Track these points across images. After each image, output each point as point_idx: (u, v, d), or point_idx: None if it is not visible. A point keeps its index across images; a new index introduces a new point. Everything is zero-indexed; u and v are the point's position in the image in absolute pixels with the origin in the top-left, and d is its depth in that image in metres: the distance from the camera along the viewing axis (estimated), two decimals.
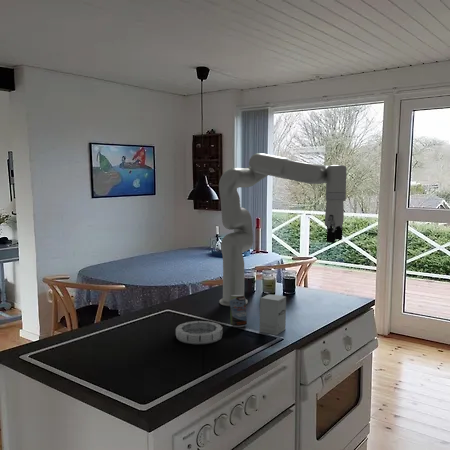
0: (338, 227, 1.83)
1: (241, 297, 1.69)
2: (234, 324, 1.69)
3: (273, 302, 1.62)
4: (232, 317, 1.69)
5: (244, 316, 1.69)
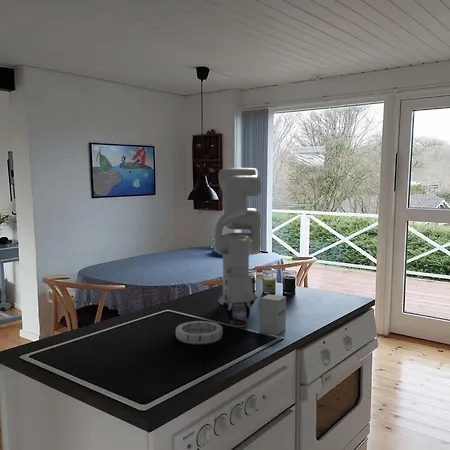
0: None
1: None
2: (234, 324, 1.69)
3: (273, 302, 1.62)
4: (232, 317, 1.69)
5: (244, 316, 1.69)
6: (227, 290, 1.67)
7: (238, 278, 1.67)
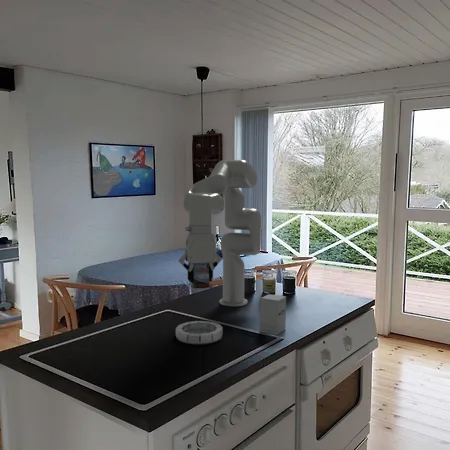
0: None
1: None
2: (195, 287, 1.56)
3: (273, 302, 1.62)
4: (193, 279, 1.57)
5: (206, 278, 1.57)
6: (187, 250, 1.55)
7: (199, 237, 1.55)
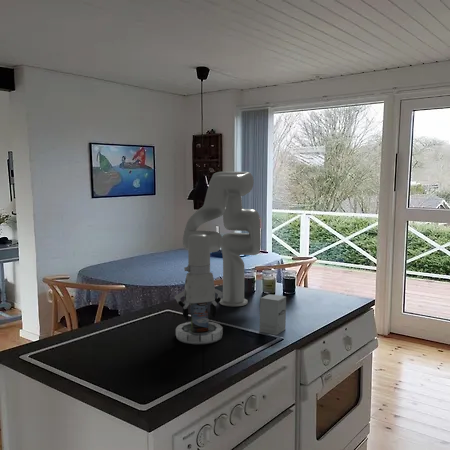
0: None
1: None
2: (194, 331, 1.57)
3: (273, 302, 1.62)
4: (192, 324, 1.58)
5: (205, 323, 1.58)
6: (186, 290, 1.56)
7: (198, 277, 1.56)
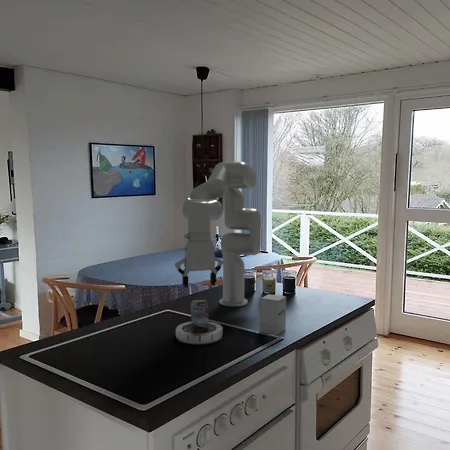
0: None
1: (202, 302, 1.58)
2: (194, 331, 1.57)
3: (273, 302, 1.62)
4: (192, 324, 1.58)
5: (205, 323, 1.58)
6: (186, 257, 1.55)
7: (198, 244, 1.55)
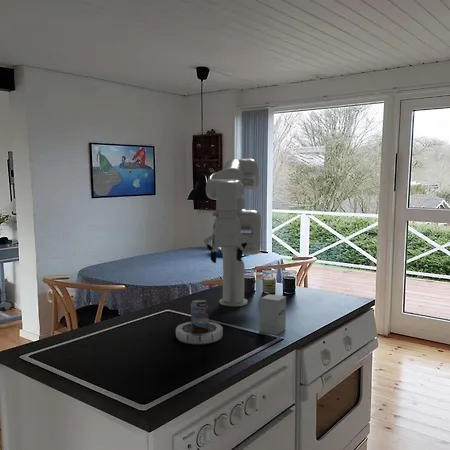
0: None
1: (202, 303, 1.58)
2: (194, 332, 1.57)
3: (273, 302, 1.62)
4: (192, 324, 1.58)
5: (205, 323, 1.58)
6: (214, 234, 1.63)
7: (226, 221, 1.63)
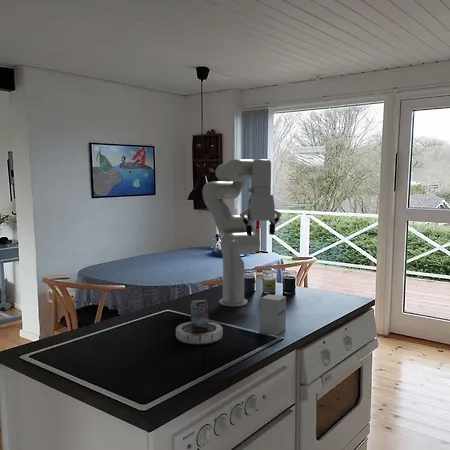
0: None
1: (202, 303, 1.58)
2: (194, 331, 1.57)
3: (273, 302, 1.62)
4: (192, 324, 1.58)
5: (205, 323, 1.58)
6: (250, 208, 1.75)
7: (261, 196, 1.75)
